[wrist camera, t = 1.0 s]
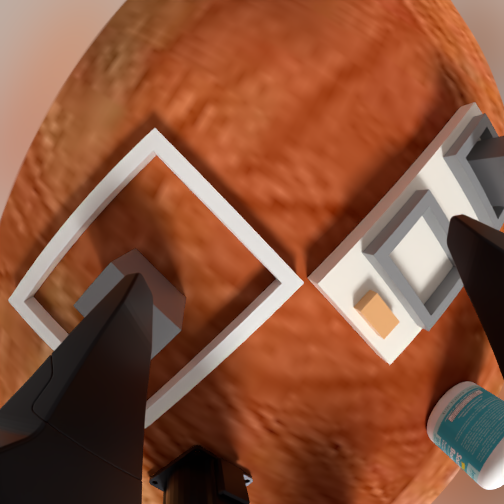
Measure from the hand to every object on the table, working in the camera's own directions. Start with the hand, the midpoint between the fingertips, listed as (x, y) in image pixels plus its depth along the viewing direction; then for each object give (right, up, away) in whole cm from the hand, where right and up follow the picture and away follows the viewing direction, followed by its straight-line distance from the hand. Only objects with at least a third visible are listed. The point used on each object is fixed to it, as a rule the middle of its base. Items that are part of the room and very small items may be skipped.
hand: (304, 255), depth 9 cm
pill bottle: (+19, -16, +18) cm, 31 cm away
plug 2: (+17, +7, +13) cm, 22 cm away
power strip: (+13, +3, +14) cm, 19 cm away
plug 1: (-8, -2, +11) cm, 14 cm away
